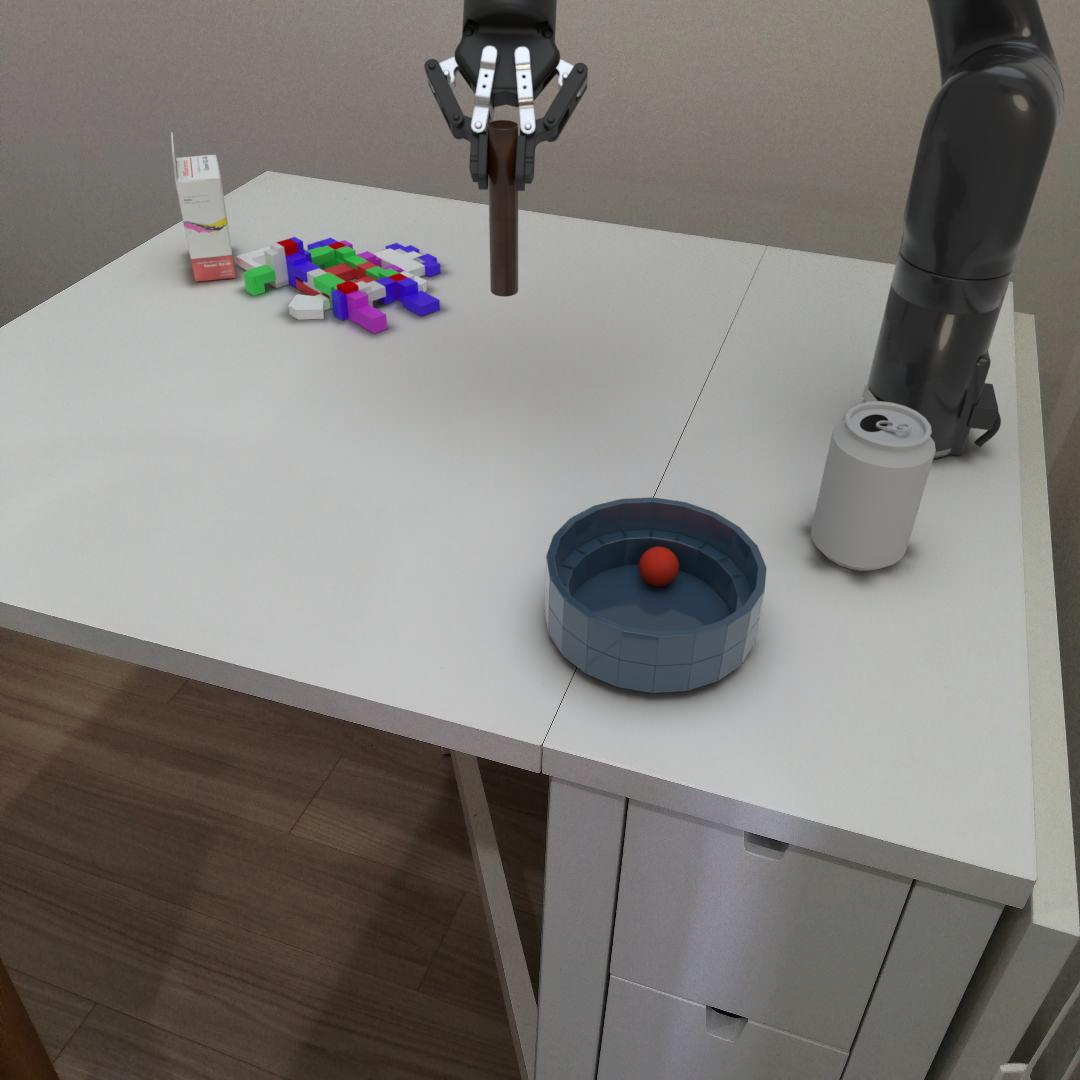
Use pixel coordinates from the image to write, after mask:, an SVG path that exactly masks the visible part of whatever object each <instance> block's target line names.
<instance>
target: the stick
mask: <svg viewBox="0 0 1080 1080" xmlns="http://www.w3.org/2000/svg"><path fill="white" fill-rule="evenodd" d="M487 127H488V164H489V179H488V222H489V223H488V224H489V225H488V226H489V228H488V229H489V231H488V232H489V271H490V272H489V276H490V278H489V279H490V292H491V294H492V295H494V296H497V297H502V298H503V297H504V298H505V297H506V298H507V297H512V296H515V295H517V294H518V293H519V191H516V185H515V169H516V147H517V136H519V124H518V123H517V122H515V121H513V120H508V119H498V120H493V121H492V122H490V123H488V125H487Z"/></svg>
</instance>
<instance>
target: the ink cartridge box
mask: <svg viewBox="0 0 1080 1080" xmlns="http://www.w3.org/2000/svg"><path fill="white" fill-rule="evenodd" d="M170 142H171V157H172V164H173V175H174V182H175V188H176V193H177V198H178V203H179V207H180V213H181V218H182V223H183V227H184V234H185V238H186V244H187V248H188V252H189V258H190V262H191V268H192V272H193V277H194V281H195V282H204V281H215V280H223V279H224V280H225V279H236V278H237V274H236V268H235V262H234V256H233V249H232V243H231V235H230V229H229V222H228V214H227V209H226V202H225V195H224V190H223V189H224V187H223V181H222V176H221V171H220V166H219V162H218V157H217V155H216V154H205V155H195V156H193V155H192V156H183V157H176V155H175V144H174V133H173V131H171V132H170Z"/></svg>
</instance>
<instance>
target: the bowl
mask: <svg viewBox="0 0 1080 1080" xmlns="http://www.w3.org/2000/svg"><path fill="white" fill-rule="evenodd" d="M653 547H665V548H667V549H669V550H671V551H672V552H673V553H674V554H675V555H676V557H677V559H678V562H679V571H678V574H677V576H676V578H675V579H674V580H673V581H672V582H671V583H670V584H668V585H666V586H662V587H656V586H652V585H650V584H648V583H647V582H645V581H644V579H643V578H642V577H641V575H640V572H639V561H640V559H641V557H642V555H643V554H644V553H645V552H646V551H647V550H649V549H651V548H653ZM766 581H767V565H766V563H765V560H764V558H763V556H762V552H761V550H760V548H759V546H758V545H757V544H756V543H755V541H753V539H752V538H751V537H750V536H749V535H748V534H747V533H746V532H745V531H744V530H743V529H742V528H741V527H740V526H738V525H737V524H735V523H734V522H732V521H730V520H729V519H727V518H726V517H724V516H722V515H720V514H719V513H717V512H715V511H712V510H711V509H710V510H709V509H707V508H704V507H701V506H698V505H695V504H692V503H689V502H687V501H682V500H681V501H680V500H673V499H667V498H660V497H652V496H651V497H636V498H635V497H631V498H629V497H628V498H627V497H626V498H619V499H615V500H611V501H607V502H603V503H598V504H595V505H593V506H590V507H589V508H587V509H585V510H583V511H581V512H579V513H577V514H575V515H573V516H571V517H570V518H568V520H567V521H565V523H564V524H563V525H562V526H561V527H560V528H559V529H558V530H557V531H556V532H555V533H554V534H553V536H552V538H551V541H550V543H549V547H548V550H547V552H546V555H545V583H544V584H545V586H544V587H545V588H544V616H545V621H546V623H545V624H546V628H547V629H546V630H547V634H548V635H549V636H550V638H551V640H552V642H553V643H554V645H555V646H556V648H557V650H558V651H559V652H560V654H561V656H563V657H564V658H565V659H566V660H568V661H569V663H572V665H574V666H575V667H576V668H578V669H580V670H581V672H583V673H584V674H586V675H588V676H590V677H593V678H596V679H597V680H600V681H602V682H604V683H606V684H609V685H611V686H614V687H617V688H621V689H627V690H633V691H639V692H645V693H650V694H651V693H654V694H655V693H656V694H659V693H673V692H674V693H675V692H687V691H691V690H694V689H698V688H701V687H704V686H707V685H709V684H714V683H716V682H719V681H721V680H722V679H723V678H725V677H726V676H728V675H729V674H731V673H732V672H733V671H734V670H736V669H738V668H739V667H741V666H742V664H743V662H744V661H745V659H746V657H747V656H748V655H749V653H750V652H751V649H753V646H754V645H755V640H756V637H757V631H758V625H759V621H760V615H761V612H762V611H761V610H762V605H763V601H764V595H765V591H766Z"/></svg>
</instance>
